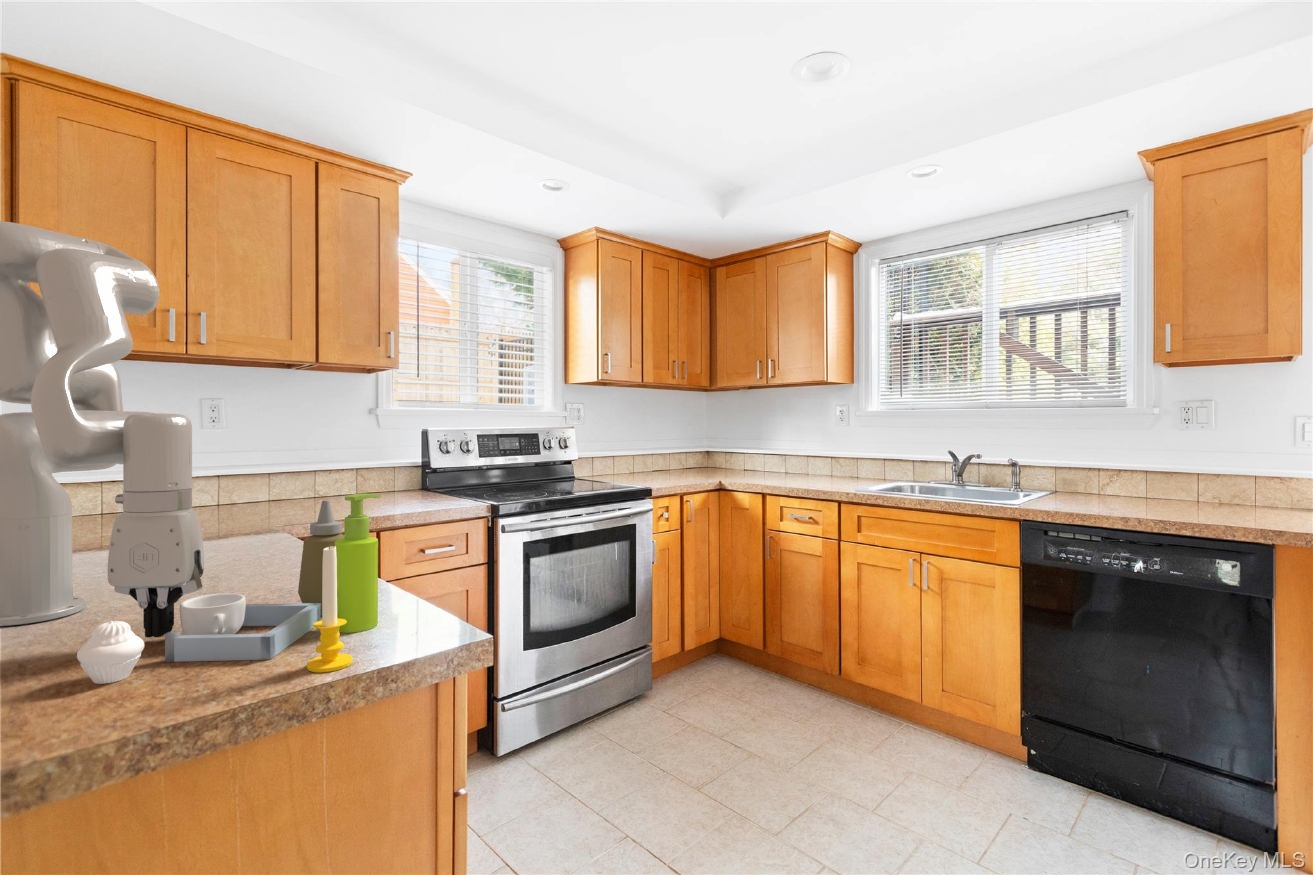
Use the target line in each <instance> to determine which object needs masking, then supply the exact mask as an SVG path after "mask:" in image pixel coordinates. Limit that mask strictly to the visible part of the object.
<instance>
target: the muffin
mask: <svg viewBox="0 0 1313 875" xmlns="http://www.w3.org/2000/svg"><path fill="white" fill-rule="evenodd" d="M90 633H91V634H90V635H91V636H90V638H88V639H87V640H86V643H84V645H82V646H81V647H80V648H79V649H78V651H77V654H76V659H77V660H78V662H79V663H80V668H81V669H83V671H84V672H85V673H86V675H87V676H88V677H89V678H90V680H91V681H92V682H93V684H96V685H102V684H103V685H106V684H113V683H116V682H120V681H122V680H125V679H127V678H128V677H129V676H130V675H131V673H132V671H133V669H134V668H135V666H136V665H137V662H138V661H139V660H140V658H141V656H142V652H143V650H144V649H145V641H144V640H143V639H142V638H141V637H139V636H138V635H137V634H135V632H134V631H132V629H131V625H130V624H129V623H127V622H125V621H122V620H120V621H119V620H115V621H113V620H110V621H108V622H103V623H101V624H99V625H97V626H95V628H94V629H93V630H92V631H91V632H90Z"/></svg>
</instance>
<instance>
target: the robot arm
mask: <svg viewBox="0 0 1313 875" xmlns="http://www.w3.org/2000/svg"><path fill="white" fill-rule="evenodd" d="M29 283H32V284H38V288H39V290H40V295H41V296H40V295H39V294H38V293H37V292H36V291H35V290H34V289H33V288H31V287H30V286H29ZM160 296H161V289H160V285H159V281H158V279H157V277H156V275H155V274H154V273H153V271H152V270H151V269H150V268H149V267H148V266H147V265H146V264H145V263H144V262H142V261H140V260H138V259H137V258H134V257H132V256H131V255H129V254H127V253H125V252H124V251H121V250H119V249H117V248H116V247H114V246H112V245H110V244H107V243H103V242H101V241H97V240H93V239H88V238H84V237H80V236H75V235H70V234H66V233H63V232H58V231H54V230H50V229H46V228H41V227H36V226H33V225H29V224H28V225H27V224H23V223H18V222H10V221H2V220H0V401H2V402H6V403H11V404H19V405H20V404H22V405H31V406H30V407H31V411H29V412H28V411H24V412H23V411H22V412H20V411H19V412H8V413H2V414H0V627H6V626H9V627H10V626H20V625H26V624H28V625H29V624H34V623H41V622H45V621H51V620H55V619H59V618H63V617H66V616H67V617H68V616H70V615H73V614H76V613H78V612H80V611H82V610H83V609H85V608H86V605H87V603H86V599H85V598H83V597H79V596H73V595H74V594H73V593H74V592H73V591H74V589H73V587H74V586H73V585H74V584H73V582H74V581H73V580H74V578H73V577H74V576H73V575H74V574H73V504H72V502H73V501H72V498H71V496H70V493H68V491H67V490H66V488H64V487H63V485H62V484H60V482H59V481H58V480H57V478H55V477H54V476H53V474H57V473H59V474H60V473H68V472H69V473H70V472H85V471H87V472H88V471H100V470H106V469H110V468H112V467H115V466H116V465H123V467H122V468H123V469H122V470H123V472H122V474H123V475H122V477H123V481H122V483H123V484H122V488H123V490H122V493H118V494H117V495H115V497H114V502H115V503H116V504H117V505H122V510H123V512H121V513H117V514H116V516H115V519H114V522H113V526H112V530H111V533H110V534H111V535H110V540H109V547H108V557H107V581H108V584H109V585H110V586H112V587H114V589H113V590H114V592H115V593H117V594H118V593H119V594H122V595H127V596H130V597H132V598H133V599H134V600H135V601H136V602H137V606H138V608H140V609H143V614H142V615H143V618H142V619H143V629H144V637H145V638H152V637H153V638H160V637H162V636H165V634H166V633H168V632H172V631H173V629H174V626H175V604H176V603H178V602H179V600H180V599H181V597H184V595H187V594H191V593H195V592H198V591H200V590H202V589H203V583H202V580H201V578H202V577H203V575H204V569H205V555H204V554H205V552H204V542H203V541H204V540H203V533H202V529H201V528H202V526H201V524H200V518H199V515H198V513H197V511H196V510H193V424H192V422H191V419H190V418H189V417H188V416H186V415H184V414H180V413H179V414H178V413H156V412H150V411H149V412H148V411H125V410H124V408H123V407H124V406H123V405H124V404H123V396H122V385H121V378H120V374H119V371H118V368H117V366H116V364H115V362H118V361H119V360H121V359H123V358H126V357H127V356H128V355H129V354H131V352H132V351H133V348H134V340H133V337H132V335H131V331H130V327H129V324H128V321H127V319H126V315H125V314H129V315H134V316H135V315H136V316H143V315H149V314H150V313H152V312H153V311H154V310H155V309H156V308H157V307H158V304H159V302H160Z"/></svg>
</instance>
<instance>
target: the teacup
mask: <svg viewBox="0 0 1313 875" xmlns="http://www.w3.org/2000/svg"><path fill="white" fill-rule="evenodd" d="M246 604H247V600H246V596H245V595H243V593H242V594H241V593H238V592H237V593H234V592H225V593H224V592H222V593H211V594H205V595H200V596H195V597H191V598H188V599H186V600H183V601H182V602H181V603H180V604H179V618H180V626H181V630H182V632H183V635H221V634H236V633H237V634H238V632H239V630H240V629H241V628H242V627H243V626H242V624H243V622H244V617H245V607H246Z"/></svg>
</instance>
